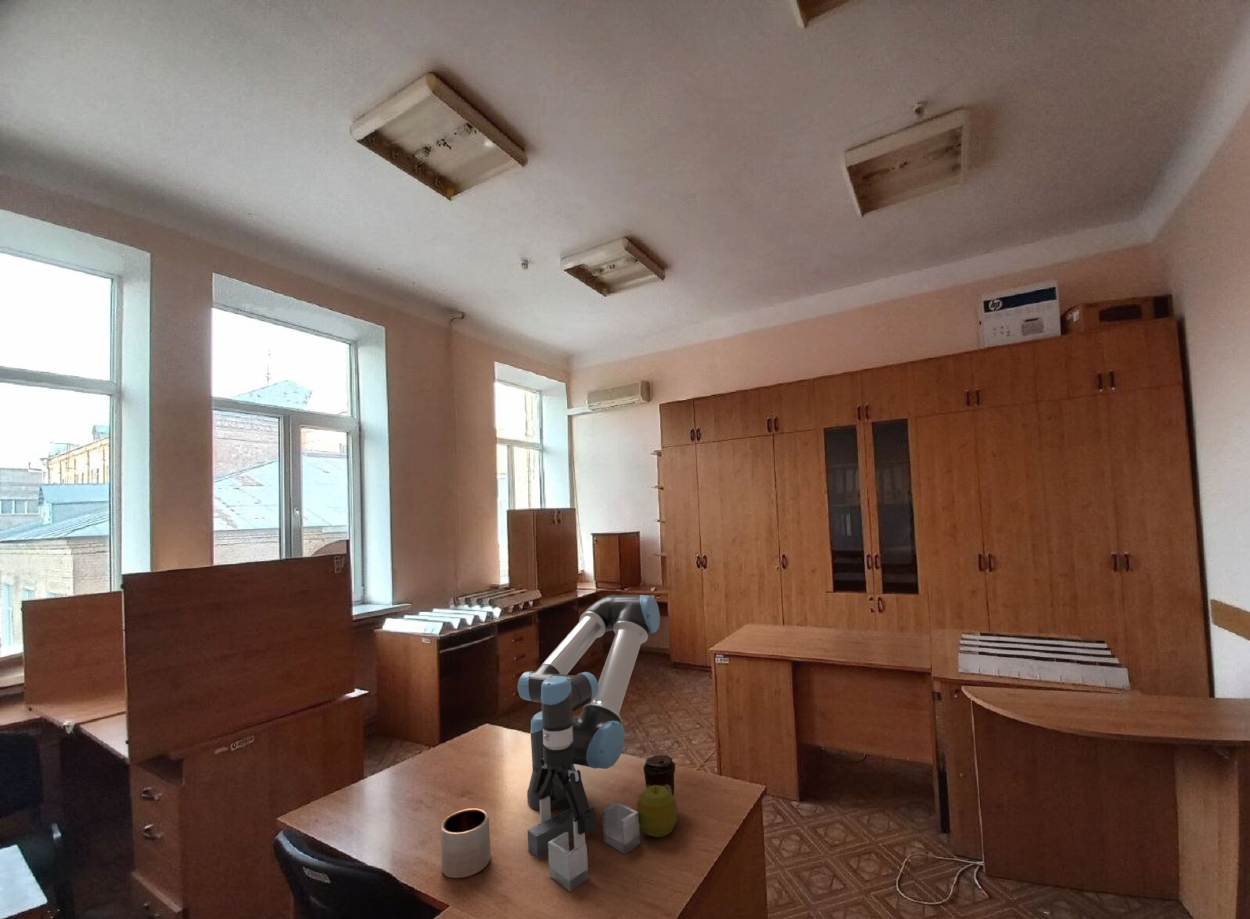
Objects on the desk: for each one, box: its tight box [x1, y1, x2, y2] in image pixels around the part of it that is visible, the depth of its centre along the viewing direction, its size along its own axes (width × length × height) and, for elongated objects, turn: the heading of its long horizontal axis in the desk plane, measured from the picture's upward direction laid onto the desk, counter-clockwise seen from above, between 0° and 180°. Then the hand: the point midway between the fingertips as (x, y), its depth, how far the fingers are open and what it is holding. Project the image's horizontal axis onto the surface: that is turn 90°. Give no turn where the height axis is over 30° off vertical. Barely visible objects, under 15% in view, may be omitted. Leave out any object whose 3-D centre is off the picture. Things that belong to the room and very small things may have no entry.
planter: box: [440, 807, 492, 879], centre depth 122 cm, size 11×11×10 cm
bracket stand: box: [547, 801, 641, 892], centre depth 120 cm, size 7×21×7 cm, turn 134°
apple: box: [636, 785, 678, 838], centre depth 129 cm, size 10×10×11 cm
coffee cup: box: [643, 754, 676, 798], centre depth 138 cm, size 9×8×13 cm
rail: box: [527, 802, 597, 860], centre depth 129 cm, size 4×17×5 cm, turn 132°
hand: (562, 836), depth 129 cm, fingers open, 13 cm apart
